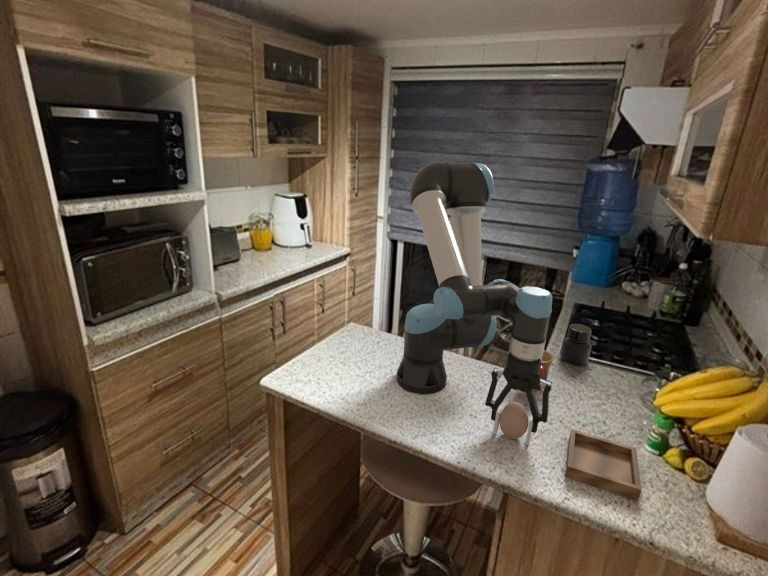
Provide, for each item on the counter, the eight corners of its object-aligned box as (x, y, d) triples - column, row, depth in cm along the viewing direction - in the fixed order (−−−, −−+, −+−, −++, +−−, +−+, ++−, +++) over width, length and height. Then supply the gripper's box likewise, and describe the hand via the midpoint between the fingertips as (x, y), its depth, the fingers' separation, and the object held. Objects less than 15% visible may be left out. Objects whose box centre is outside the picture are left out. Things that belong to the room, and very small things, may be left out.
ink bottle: (592, 360, 142) (600, 328, 138) (583, 369, 136) (591, 336, 132) (564, 350, 148) (570, 319, 144) (554, 359, 142) (560, 327, 138)
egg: (530, 437, 104) (536, 404, 100) (516, 450, 99) (522, 415, 96) (506, 424, 108) (511, 392, 105) (491, 435, 104) (496, 402, 100)
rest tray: (565, 476, 92) (567, 466, 91) (568, 439, 103) (571, 429, 102) (637, 501, 86) (641, 490, 85) (633, 458, 98) (636, 447, 97)
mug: (516, 375, 131) (521, 346, 128) (545, 379, 130) (551, 349, 126) (520, 396, 120) (525, 365, 117) (552, 401, 119) (558, 369, 115)
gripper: (478, 350, 97) (468, 432, 104) (571, 372, 89) (553, 459, 96) (485, 337, 103) (475, 415, 111) (573, 357, 95) (555, 440, 103)
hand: (511, 436), depth 103 cm, fingers open, 7 cm apart
